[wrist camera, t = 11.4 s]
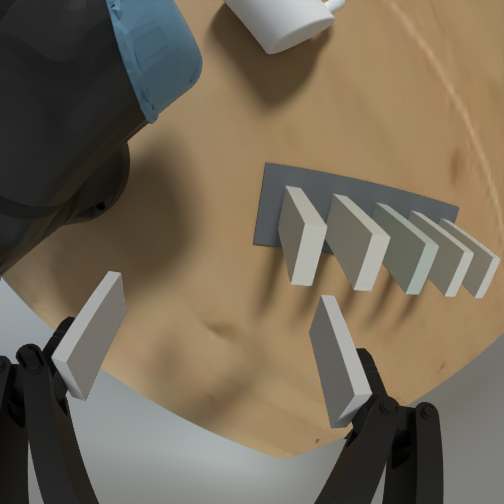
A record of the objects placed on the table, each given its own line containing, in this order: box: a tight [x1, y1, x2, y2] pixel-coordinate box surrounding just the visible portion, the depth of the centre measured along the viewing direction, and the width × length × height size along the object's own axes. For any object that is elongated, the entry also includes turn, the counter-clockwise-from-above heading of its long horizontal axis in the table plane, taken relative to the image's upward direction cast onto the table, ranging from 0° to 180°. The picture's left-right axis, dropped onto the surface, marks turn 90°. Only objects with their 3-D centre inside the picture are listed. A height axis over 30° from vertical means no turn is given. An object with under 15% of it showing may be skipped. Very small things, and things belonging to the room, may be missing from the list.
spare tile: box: [371, 203, 439, 295], centre depth 28 cm, size 2×5×12 cm, turn 172°
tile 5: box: [438, 218, 500, 298], centre depth 29 cm, size 2×5×12 cm, turn 172°
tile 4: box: [408, 211, 474, 297], centre depth 29 cm, size 2×5×12 cm, turn 172°
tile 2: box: [325, 194, 391, 291], centre depth 28 cm, size 2×5×12 cm, turn 172°
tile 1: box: [278, 186, 327, 286], centre depth 28 cm, size 2×5×12 cm, turn 172°
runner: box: [253, 163, 459, 254], centre depth 34 cm, size 29×10×1 cm, turn 82°
